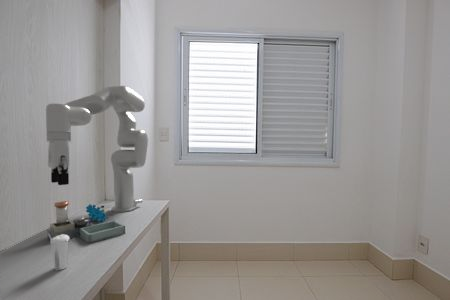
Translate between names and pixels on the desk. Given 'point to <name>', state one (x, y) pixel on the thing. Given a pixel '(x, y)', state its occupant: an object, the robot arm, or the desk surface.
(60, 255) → the milkshake
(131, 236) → the desk surface
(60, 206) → the pin
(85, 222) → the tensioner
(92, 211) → the gear
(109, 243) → the desk surface
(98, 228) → the tray
